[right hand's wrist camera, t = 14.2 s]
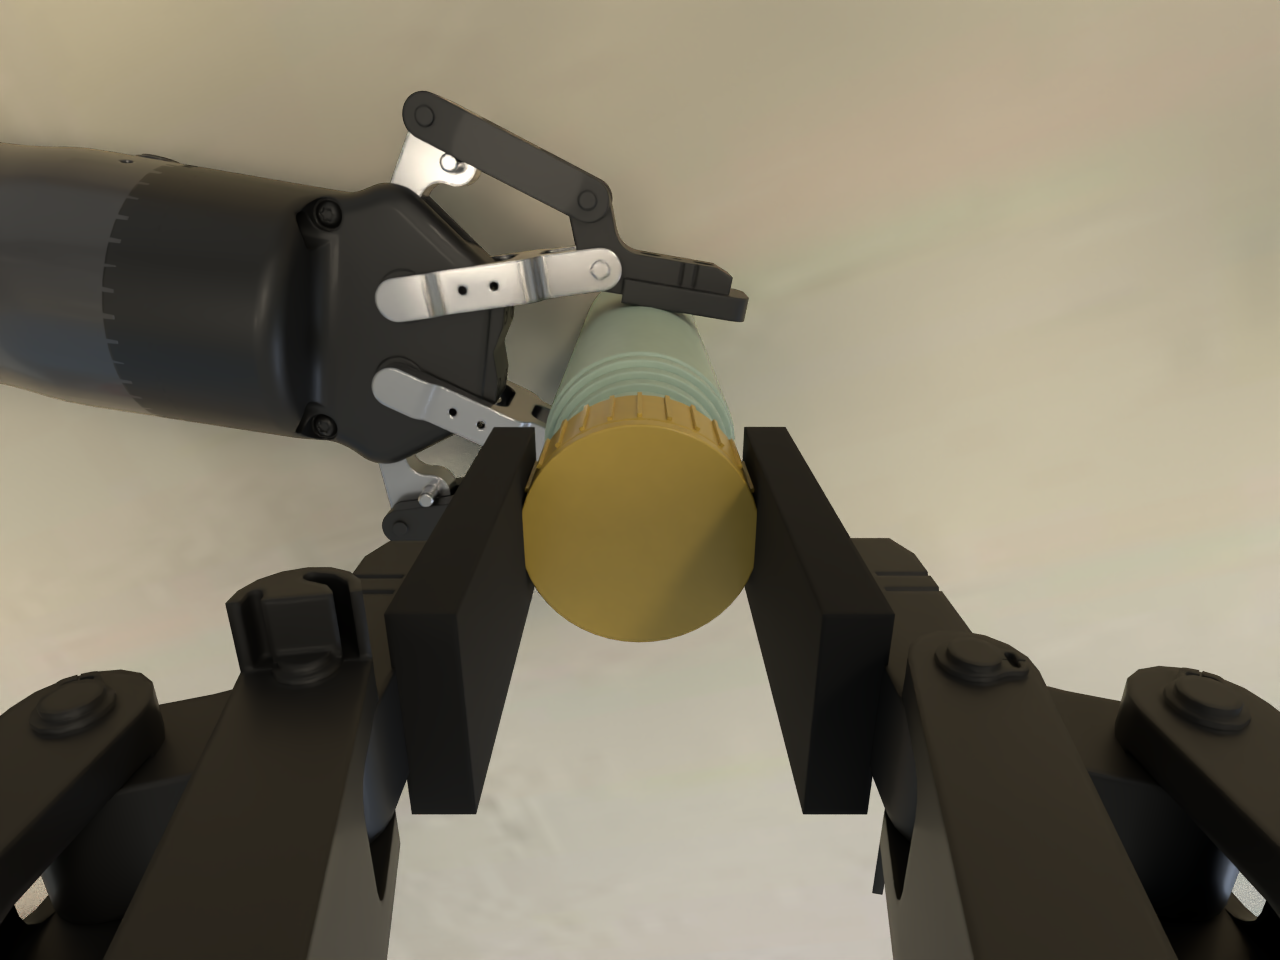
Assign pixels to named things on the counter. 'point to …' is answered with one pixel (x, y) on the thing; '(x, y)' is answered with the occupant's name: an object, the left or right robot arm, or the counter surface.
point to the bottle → (638, 362)
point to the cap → (639, 519)
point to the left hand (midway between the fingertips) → (724, 382)
